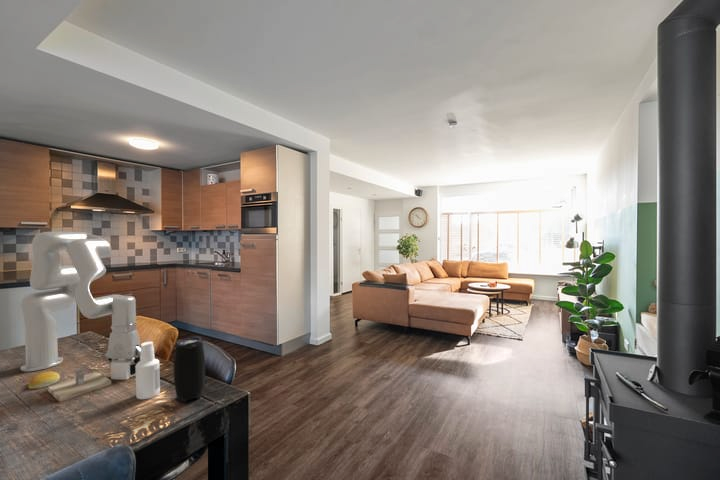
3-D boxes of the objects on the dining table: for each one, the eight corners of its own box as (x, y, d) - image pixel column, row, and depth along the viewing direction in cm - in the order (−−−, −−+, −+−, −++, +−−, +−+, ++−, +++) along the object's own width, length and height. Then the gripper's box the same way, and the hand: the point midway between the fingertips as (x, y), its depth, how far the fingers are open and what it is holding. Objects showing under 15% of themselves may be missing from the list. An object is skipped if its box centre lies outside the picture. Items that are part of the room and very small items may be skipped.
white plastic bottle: (164, 391, 109) (163, 340, 109) (145, 401, 103) (144, 347, 102) (150, 388, 111) (149, 339, 111) (131, 398, 105) (130, 345, 104)
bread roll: (26, 392, 110) (26, 381, 110) (30, 383, 117) (30, 372, 117) (59, 384, 115) (58, 374, 115) (61, 376, 122) (60, 366, 122)
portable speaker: (168, 402, 102) (167, 343, 101) (191, 388, 111) (189, 334, 110) (189, 405, 100) (188, 345, 99) (211, 391, 109) (209, 336, 108)
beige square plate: (47, 390, 110) (47, 374, 110) (97, 375, 122) (96, 360, 122) (59, 402, 103) (59, 384, 103) (111, 384, 114) (110, 368, 114)
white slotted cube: (111, 379, 119) (110, 362, 119) (124, 371, 125) (124, 355, 125) (126, 379, 118) (126, 362, 118) (139, 372, 125) (139, 356, 125)
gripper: (94, 331, 118) (96, 377, 118) (138, 331, 117) (139, 378, 117) (111, 325, 125) (112, 368, 126) (152, 325, 125) (153, 369, 125)
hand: (125, 372), depth 122 cm, fingers closed on white slotted cube, 6 cm apart
